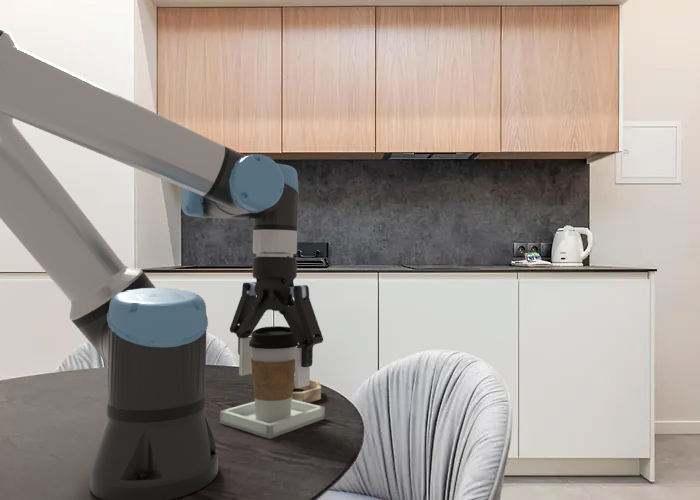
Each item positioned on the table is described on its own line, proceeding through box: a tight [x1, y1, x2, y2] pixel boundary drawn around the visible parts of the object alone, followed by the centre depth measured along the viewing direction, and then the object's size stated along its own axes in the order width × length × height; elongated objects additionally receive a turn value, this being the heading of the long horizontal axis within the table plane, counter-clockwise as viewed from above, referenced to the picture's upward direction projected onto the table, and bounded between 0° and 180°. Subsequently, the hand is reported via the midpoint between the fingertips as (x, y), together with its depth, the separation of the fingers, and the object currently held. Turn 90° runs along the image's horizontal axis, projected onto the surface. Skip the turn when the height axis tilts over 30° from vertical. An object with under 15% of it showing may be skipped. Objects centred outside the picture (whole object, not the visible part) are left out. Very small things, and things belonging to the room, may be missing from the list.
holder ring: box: [292, 377, 322, 404], centre depth 104 cm, size 13×13×2 cm
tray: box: [219, 399, 326, 440], centre depth 88 cm, size 13×12×2 cm
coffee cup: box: [249, 326, 299, 423], centre depth 88 cm, size 8×8×15 cm
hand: (272, 380), depth 88 cm, fingers open, 13 cm apart
